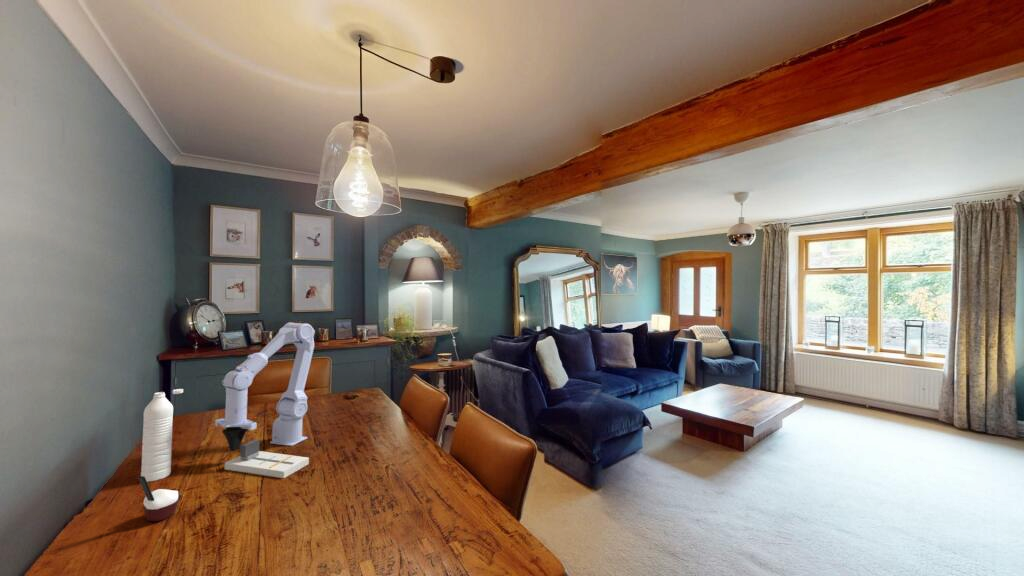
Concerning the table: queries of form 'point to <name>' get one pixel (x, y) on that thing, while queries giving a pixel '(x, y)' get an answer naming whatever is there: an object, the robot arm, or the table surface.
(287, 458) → the fader console
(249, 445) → the fader tab
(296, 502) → the table surface
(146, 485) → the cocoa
